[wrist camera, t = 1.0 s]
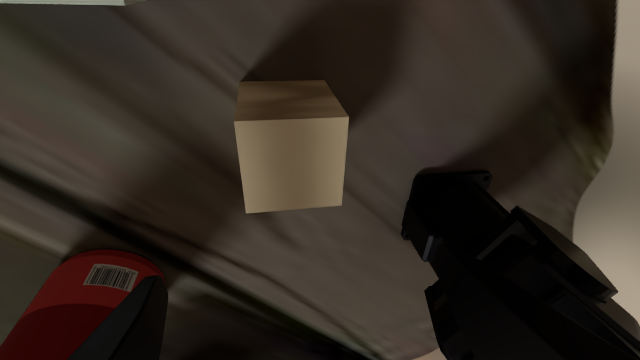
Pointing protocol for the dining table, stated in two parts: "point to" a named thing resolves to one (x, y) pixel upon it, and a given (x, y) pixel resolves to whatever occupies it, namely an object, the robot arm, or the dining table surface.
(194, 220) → the dining table surface
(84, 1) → the base
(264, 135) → the block
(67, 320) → the canned food
